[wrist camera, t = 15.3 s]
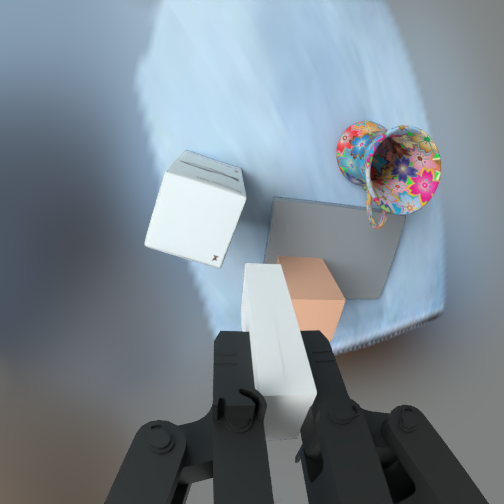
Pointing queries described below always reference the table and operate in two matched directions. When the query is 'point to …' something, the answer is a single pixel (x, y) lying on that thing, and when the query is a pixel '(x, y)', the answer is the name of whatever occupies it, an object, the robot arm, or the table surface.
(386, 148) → the mug
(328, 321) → the peach tan brick
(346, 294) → the board
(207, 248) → the supplement box
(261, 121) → the table surface
